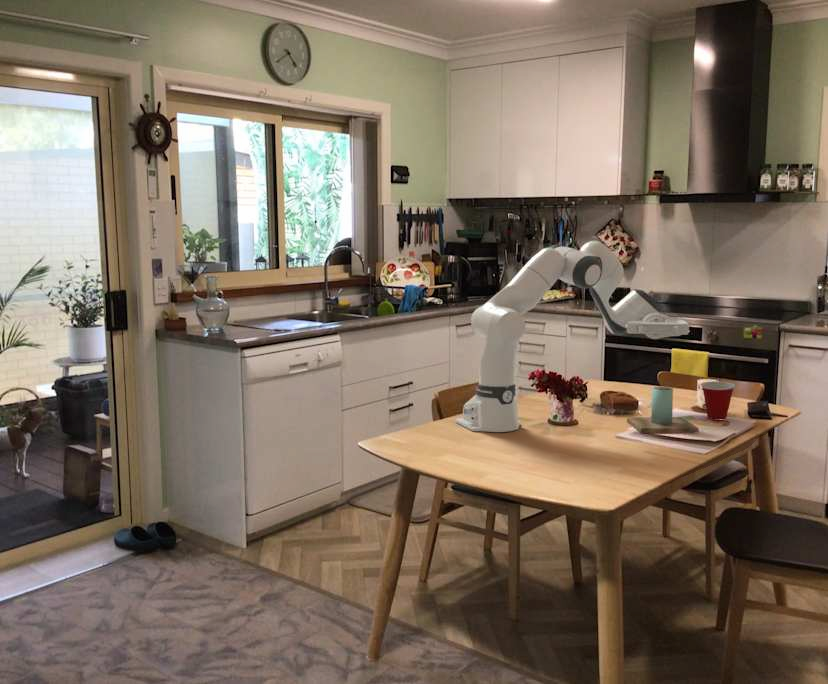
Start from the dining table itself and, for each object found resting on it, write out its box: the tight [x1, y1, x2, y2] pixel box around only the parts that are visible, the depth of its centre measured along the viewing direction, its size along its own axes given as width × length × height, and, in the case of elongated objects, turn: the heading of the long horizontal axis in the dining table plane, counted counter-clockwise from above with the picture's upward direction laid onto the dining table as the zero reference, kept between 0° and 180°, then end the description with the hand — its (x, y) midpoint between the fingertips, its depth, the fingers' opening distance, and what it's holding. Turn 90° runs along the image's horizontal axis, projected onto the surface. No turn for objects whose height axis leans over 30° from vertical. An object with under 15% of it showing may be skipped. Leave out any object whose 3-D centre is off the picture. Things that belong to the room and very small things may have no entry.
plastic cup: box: [700, 380, 736, 421], centre depth 269 cm, size 11×11×12 cm
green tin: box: [650, 386, 674, 425], centre depth 257 cm, size 6×6×11 cm
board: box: [626, 416, 700, 434], centre depth 258 cm, size 18×16×2 cm
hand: (659, 330), depth 266 cm, fingers open, 8 cm apart
